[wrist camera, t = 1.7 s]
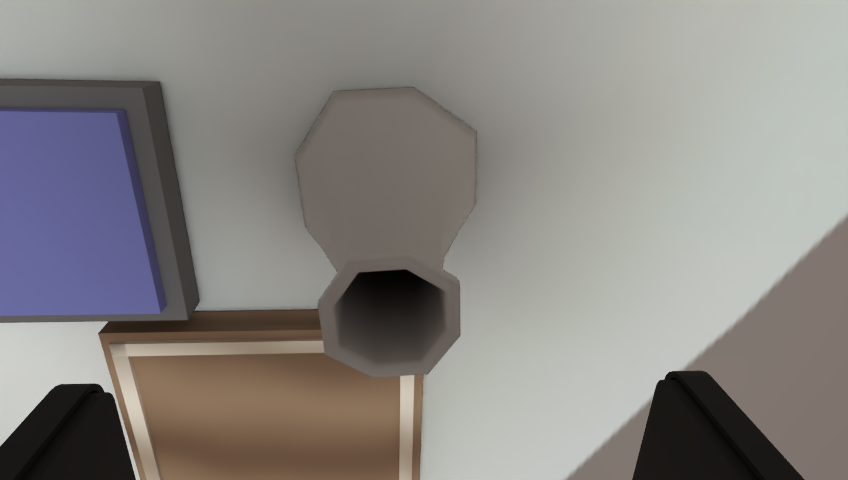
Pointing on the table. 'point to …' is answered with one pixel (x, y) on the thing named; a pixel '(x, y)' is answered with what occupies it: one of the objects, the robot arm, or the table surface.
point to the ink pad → (90, 205)
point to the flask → (387, 225)
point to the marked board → (257, 401)
